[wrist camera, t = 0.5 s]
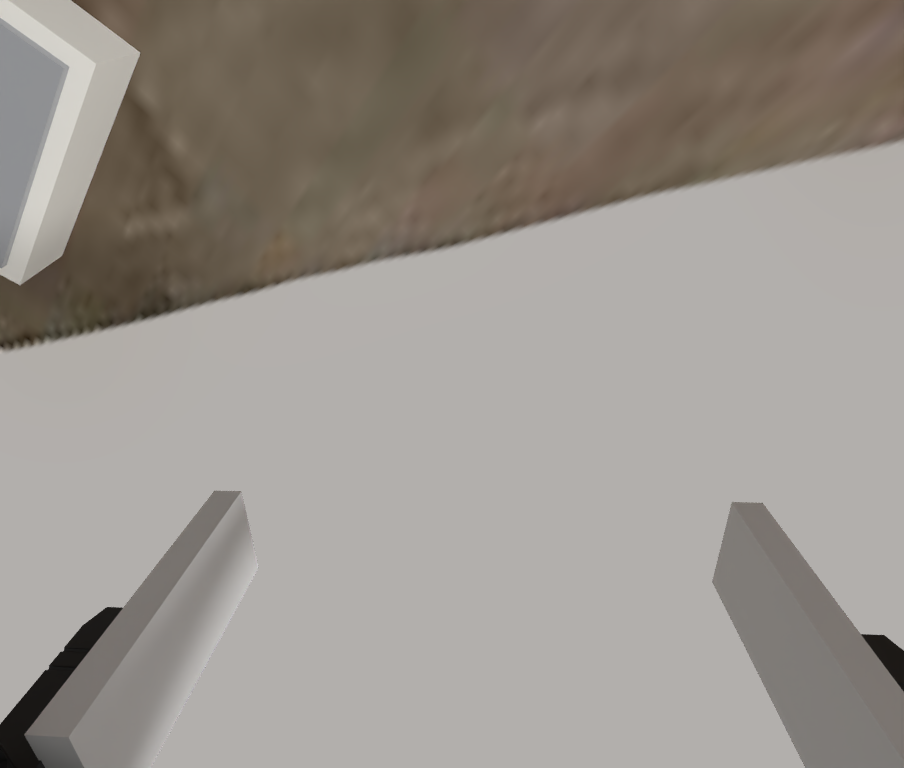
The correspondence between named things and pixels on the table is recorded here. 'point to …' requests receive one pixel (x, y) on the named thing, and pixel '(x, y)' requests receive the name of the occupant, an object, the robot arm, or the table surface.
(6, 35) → the block
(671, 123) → the table surface
